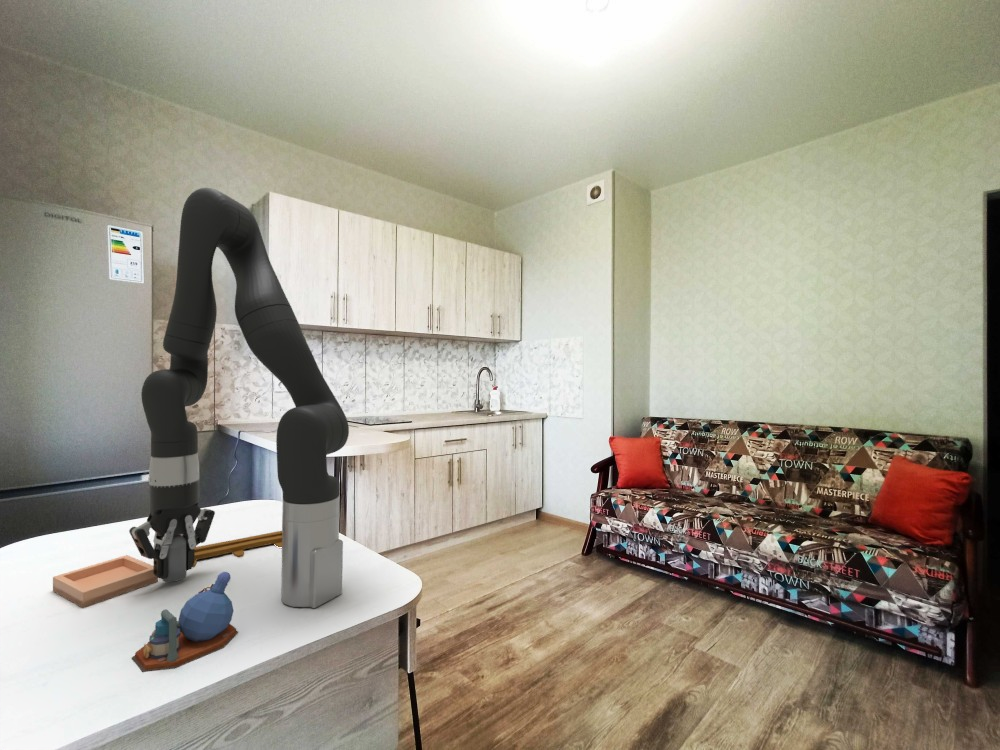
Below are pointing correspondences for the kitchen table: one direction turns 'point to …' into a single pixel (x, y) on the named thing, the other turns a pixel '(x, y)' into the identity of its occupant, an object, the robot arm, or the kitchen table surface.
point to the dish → (104, 580)
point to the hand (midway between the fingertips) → (174, 572)
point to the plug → (176, 559)
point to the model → (190, 630)
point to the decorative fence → (237, 545)
